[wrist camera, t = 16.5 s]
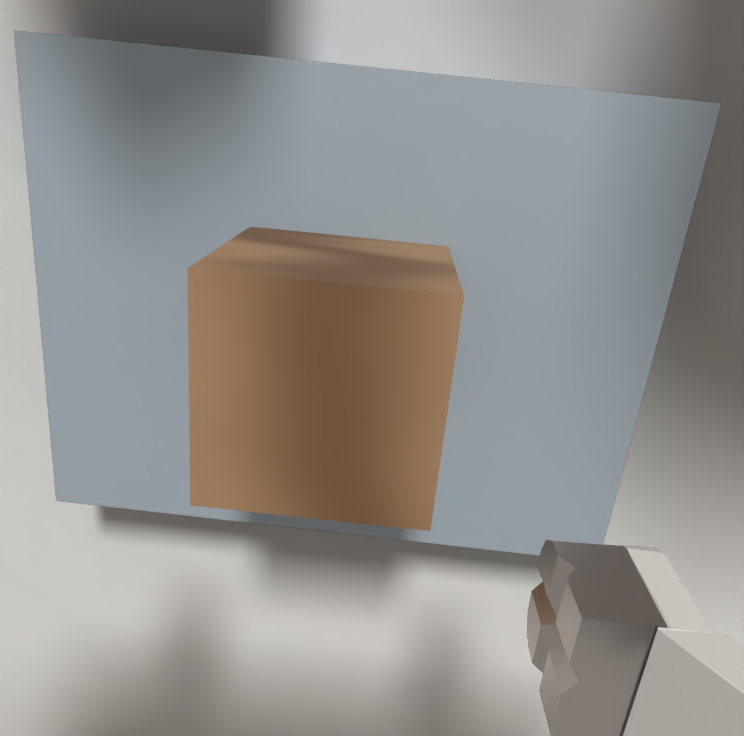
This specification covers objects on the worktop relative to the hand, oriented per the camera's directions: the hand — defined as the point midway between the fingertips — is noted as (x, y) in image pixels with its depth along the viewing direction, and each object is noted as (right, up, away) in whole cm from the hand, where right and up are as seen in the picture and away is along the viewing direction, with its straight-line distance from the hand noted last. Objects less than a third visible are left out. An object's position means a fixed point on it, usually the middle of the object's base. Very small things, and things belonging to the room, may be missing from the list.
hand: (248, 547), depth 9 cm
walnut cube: (+1, +4, +10) cm, 11 cm away
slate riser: (+1, +5, +13) cm, 14 cm away
